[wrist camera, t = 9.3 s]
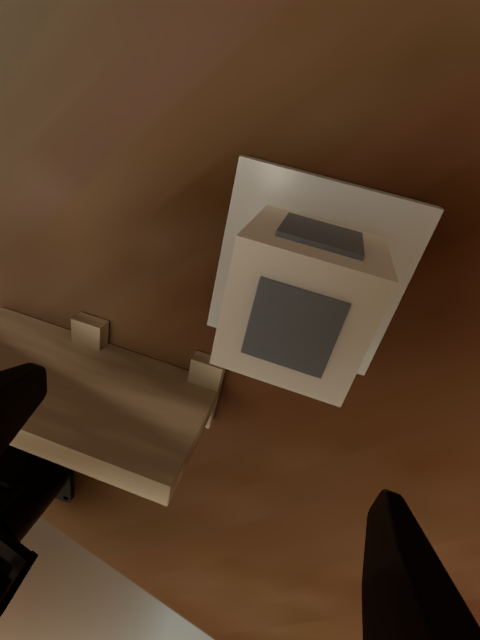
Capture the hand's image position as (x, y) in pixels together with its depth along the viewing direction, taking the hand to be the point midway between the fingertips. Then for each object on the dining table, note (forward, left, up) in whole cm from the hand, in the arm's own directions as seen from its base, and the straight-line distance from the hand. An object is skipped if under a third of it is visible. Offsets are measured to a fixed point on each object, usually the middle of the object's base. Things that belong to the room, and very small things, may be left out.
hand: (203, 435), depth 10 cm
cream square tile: (+1, -1, -12) cm, 12 cm away
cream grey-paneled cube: (+1, -1, -11) cm, 11 cm away
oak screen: (-9, +10, -12) cm, 18 cm away
